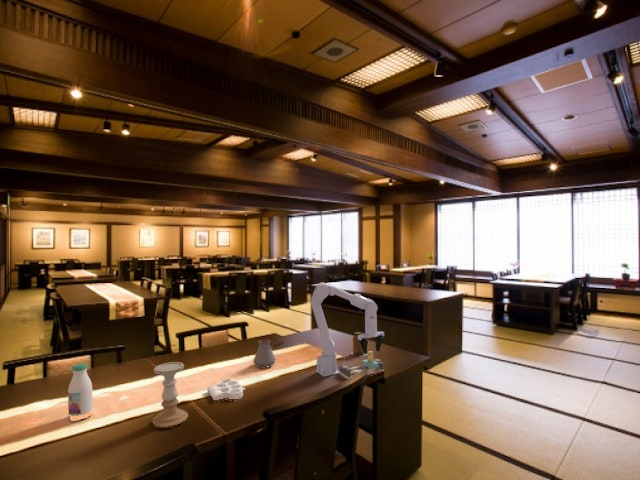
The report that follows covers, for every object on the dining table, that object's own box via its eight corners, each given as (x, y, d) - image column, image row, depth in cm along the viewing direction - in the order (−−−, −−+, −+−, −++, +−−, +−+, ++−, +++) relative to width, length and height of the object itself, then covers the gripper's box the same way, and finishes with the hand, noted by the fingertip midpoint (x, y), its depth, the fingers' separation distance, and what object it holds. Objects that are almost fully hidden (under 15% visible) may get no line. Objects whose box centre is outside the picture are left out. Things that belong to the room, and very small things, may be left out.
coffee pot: (249, 366, 190) (248, 337, 190) (265, 360, 199) (265, 333, 199) (276, 375, 176) (276, 344, 176) (293, 368, 185) (292, 339, 185)
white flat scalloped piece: (205, 390, 162) (237, 383, 169) (216, 406, 146) (250, 397, 154) (204, 383, 162) (236, 376, 169) (215, 398, 146) (250, 389, 154)
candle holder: (146, 421, 134) (145, 367, 134) (179, 409, 143) (178, 358, 143) (159, 433, 126) (158, 375, 125) (193, 420, 134) (192, 366, 134)
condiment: (358, 351, 212) (358, 330, 212) (369, 354, 206) (368, 333, 205) (349, 353, 207) (349, 332, 207) (360, 357, 201) (359, 335, 201)
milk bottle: (88, 410, 144) (87, 360, 144) (96, 416, 139) (94, 364, 139) (65, 418, 138) (64, 365, 138) (72, 424, 133) (71, 370, 133)
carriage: (370, 368, 176) (370, 354, 175) (362, 364, 182) (362, 351, 182) (378, 366, 178) (378, 353, 178) (370, 362, 184) (370, 349, 184)
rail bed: (347, 380, 169) (347, 370, 168) (338, 374, 177) (337, 364, 176) (385, 372, 178) (384, 362, 178) (374, 366, 186) (374, 357, 186)
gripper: (363, 328, 173) (363, 357, 173) (387, 324, 180) (388, 352, 180) (355, 325, 179) (355, 352, 179) (379, 321, 186) (379, 348, 186)
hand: (371, 352), depth 180 cm, fingers open, 7 cm apart
